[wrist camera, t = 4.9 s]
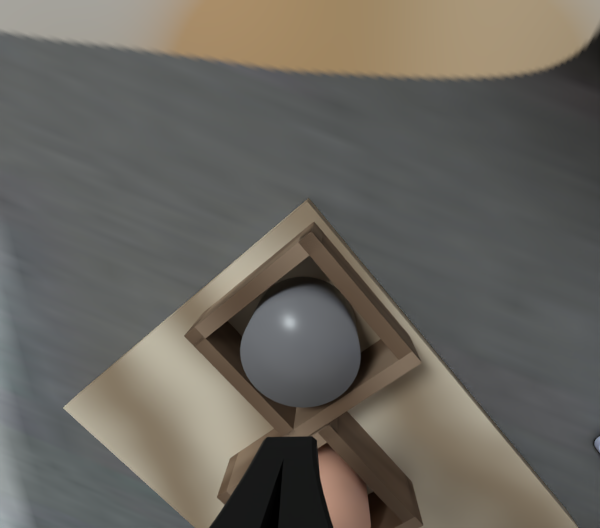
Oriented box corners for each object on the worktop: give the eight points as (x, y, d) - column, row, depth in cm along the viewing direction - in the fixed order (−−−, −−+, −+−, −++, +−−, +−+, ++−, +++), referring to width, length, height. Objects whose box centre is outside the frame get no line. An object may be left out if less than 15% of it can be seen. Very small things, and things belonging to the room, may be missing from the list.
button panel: (308, 198, 15) (303, 207, 12) (566, 510, 19) (617, 583, 15) (79, 393, 19) (27, 440, 16) (328, 623, 22) (328, 702, 19)
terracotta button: (326, 418, 17) (325, 463, 14) (383, 479, 17) (392, 532, 15) (257, 463, 18) (245, 512, 15) (313, 519, 19) (311, 574, 16)
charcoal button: (310, 255, 15) (307, 275, 12) (376, 332, 15) (385, 365, 13) (233, 317, 16) (215, 346, 13) (298, 386, 16) (293, 426, 14)
